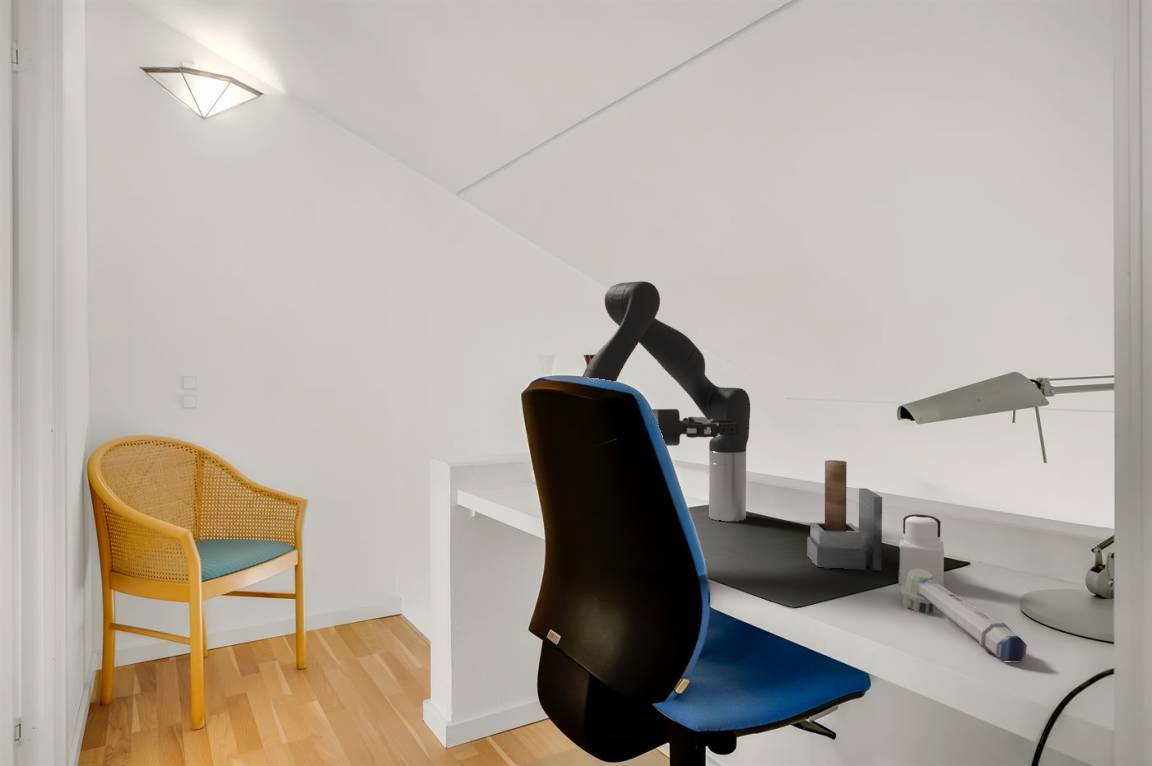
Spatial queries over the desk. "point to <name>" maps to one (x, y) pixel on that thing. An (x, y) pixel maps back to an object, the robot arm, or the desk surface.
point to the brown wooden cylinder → (835, 495)
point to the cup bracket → (850, 539)
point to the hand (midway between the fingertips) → (736, 426)
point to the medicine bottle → (921, 547)
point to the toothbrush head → (961, 615)
